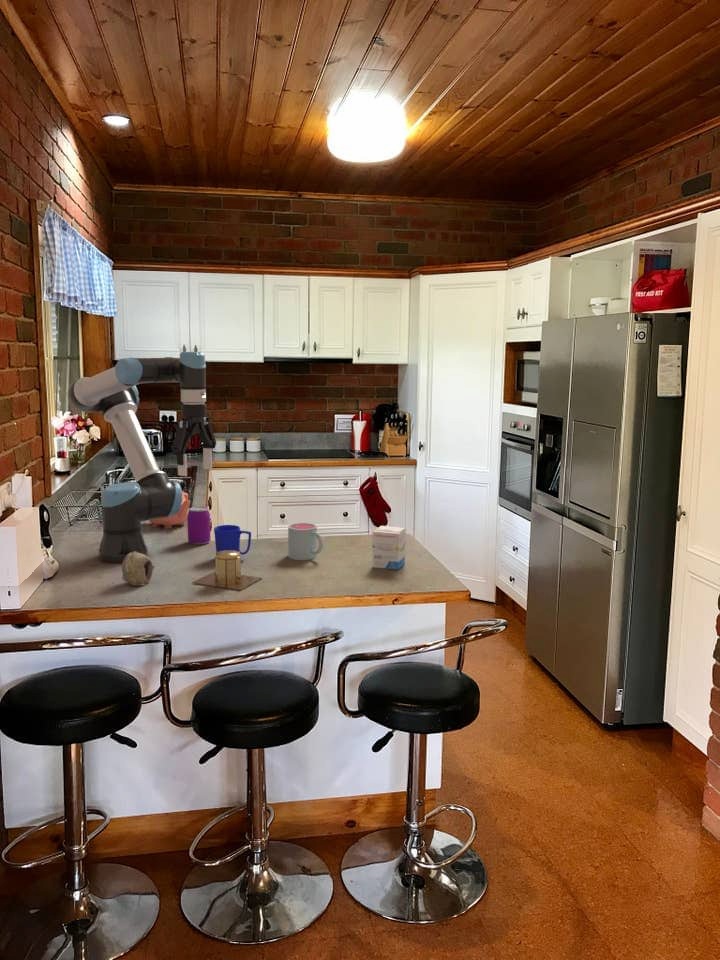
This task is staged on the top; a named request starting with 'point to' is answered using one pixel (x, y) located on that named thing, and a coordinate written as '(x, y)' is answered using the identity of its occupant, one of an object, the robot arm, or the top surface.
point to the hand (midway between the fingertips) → (195, 472)
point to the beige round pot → (137, 569)
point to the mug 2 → (303, 541)
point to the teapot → (176, 518)
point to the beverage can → (198, 525)
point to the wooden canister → (228, 567)
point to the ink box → (388, 547)
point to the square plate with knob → (239, 586)
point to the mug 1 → (229, 538)
